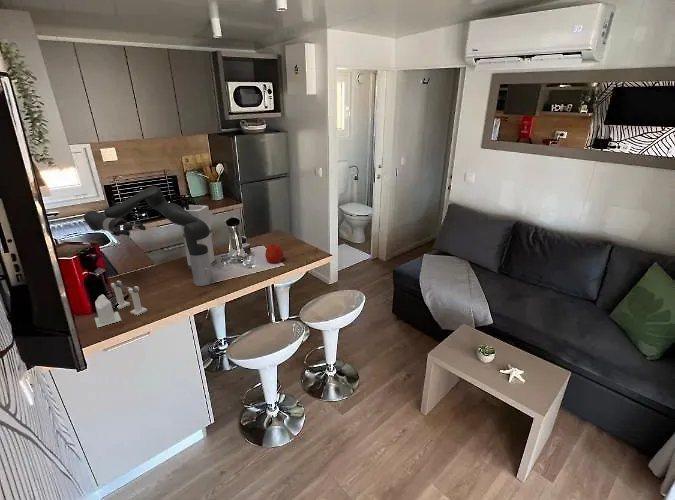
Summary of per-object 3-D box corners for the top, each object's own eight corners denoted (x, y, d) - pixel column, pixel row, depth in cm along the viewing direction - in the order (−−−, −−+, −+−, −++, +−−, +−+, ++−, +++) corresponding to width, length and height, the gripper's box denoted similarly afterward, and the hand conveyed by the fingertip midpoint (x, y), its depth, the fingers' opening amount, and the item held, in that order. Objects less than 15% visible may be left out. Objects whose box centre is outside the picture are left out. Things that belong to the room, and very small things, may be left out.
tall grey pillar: (216, 262, 214) (208, 205, 200) (207, 270, 204) (198, 211, 191) (198, 261, 215) (189, 204, 202) (188, 268, 206) (178, 210, 192)
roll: (89, 298, 149) (97, 292, 154) (96, 322, 154) (104, 315, 159) (104, 298, 149) (111, 291, 155) (111, 322, 154) (118, 315, 159)
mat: (118, 312, 162) (117, 311, 162) (121, 321, 156) (121, 320, 156) (94, 319, 157) (94, 318, 157) (97, 328, 151) (97, 327, 150)
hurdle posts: (113, 307, 167) (107, 283, 162) (123, 302, 171) (117, 279, 166) (137, 316, 160) (131, 291, 155) (147, 310, 164) (142, 287, 159)
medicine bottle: (243, 258, 220) (241, 240, 215) (234, 255, 223) (232, 237, 219) (251, 254, 225) (249, 236, 221) (243, 252, 229) (241, 234, 224)
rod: (113, 286, 164) (112, 283, 163) (116, 284, 165) (115, 282, 164) (136, 293, 157) (135, 290, 157) (138, 292, 159) (138, 289, 158)
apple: (287, 259, 218) (286, 243, 214) (275, 265, 210) (274, 249, 206) (274, 255, 224) (272, 239, 220) (261, 261, 215) (260, 245, 211)
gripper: (99, 222, 174) (121, 228, 167) (126, 214, 185) (148, 219, 179) (103, 237, 176) (125, 242, 170) (129, 228, 188) (151, 233, 182)
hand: (137, 230), depth 175 cm, fingers open, 8 cm apart
